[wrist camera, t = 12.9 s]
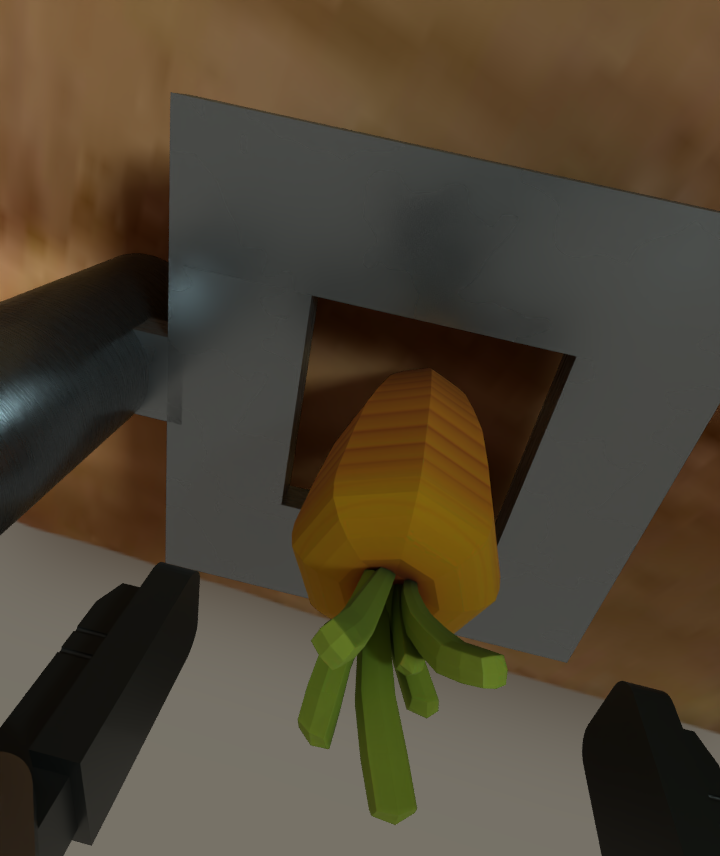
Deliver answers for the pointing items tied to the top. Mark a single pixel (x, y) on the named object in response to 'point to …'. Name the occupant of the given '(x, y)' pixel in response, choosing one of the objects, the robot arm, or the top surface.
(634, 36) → the top surface
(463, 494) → the carrot
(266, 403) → the square hole stand
